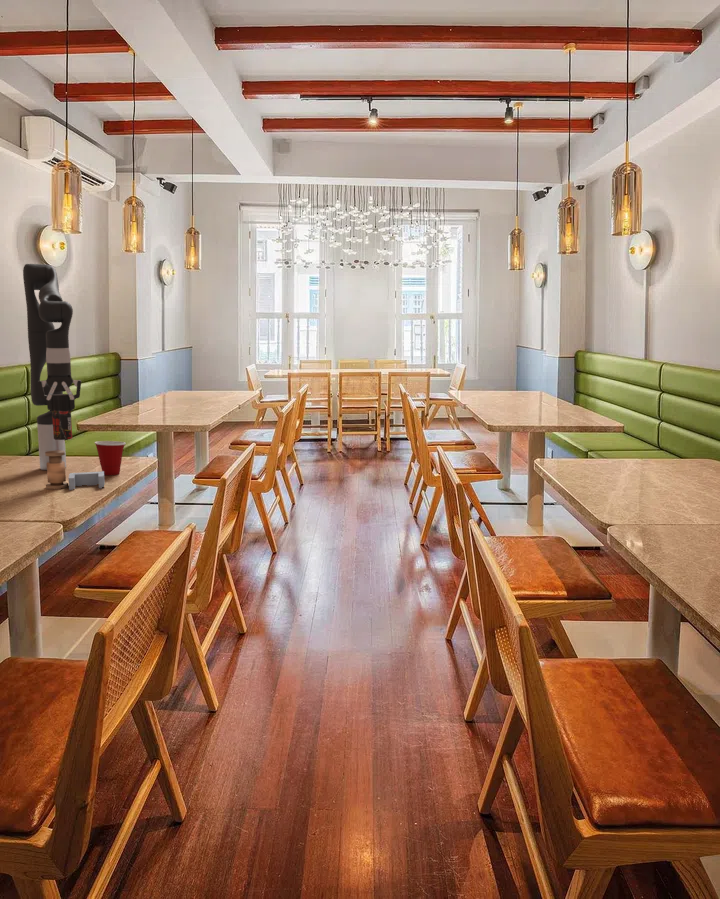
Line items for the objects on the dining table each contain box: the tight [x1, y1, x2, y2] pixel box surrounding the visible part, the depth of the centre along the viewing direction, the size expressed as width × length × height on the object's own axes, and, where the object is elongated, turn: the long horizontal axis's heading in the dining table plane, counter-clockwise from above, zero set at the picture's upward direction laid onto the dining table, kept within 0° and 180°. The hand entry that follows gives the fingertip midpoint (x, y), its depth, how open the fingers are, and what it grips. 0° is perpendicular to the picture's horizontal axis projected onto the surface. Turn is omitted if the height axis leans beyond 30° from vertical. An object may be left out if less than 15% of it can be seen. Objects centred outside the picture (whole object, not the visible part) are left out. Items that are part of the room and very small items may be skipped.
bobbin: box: [45, 450, 69, 490], centre depth 249 cm, size 7×7×12 cm
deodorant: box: [51, 393, 73, 440], centre depth 255 cm, size 6×6×15 cm
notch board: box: [67, 470, 106, 491], centre depth 251 cm, size 9×11×4 cm
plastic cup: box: [94, 440, 126, 476], centre depth 272 cm, size 11×11×12 cm
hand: (61, 410), depth 255 cm, fingers closed on deodorant, 6 cm apart
